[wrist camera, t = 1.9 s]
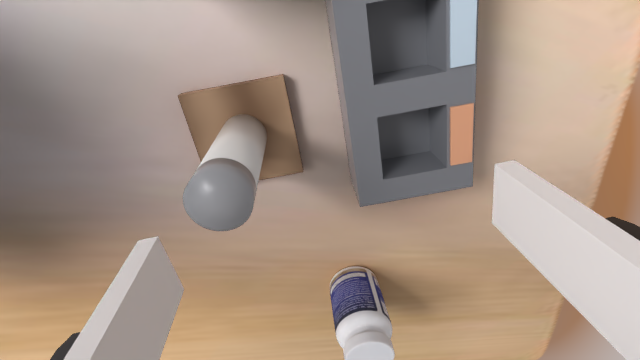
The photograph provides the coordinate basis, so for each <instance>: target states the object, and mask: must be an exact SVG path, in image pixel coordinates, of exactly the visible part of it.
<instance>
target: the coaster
mask: <svg viewBox="0 0 640 360" xmlns="http://www.w3.org/2000/svg"><path fill="white" fill-rule="evenodd" d="M178 98H179V101H180V104H181V107H182V109H183V112H184V115H185V118H186V121H187V124H188V126H189V129H190V132H191V135H192V138H193V141H194V143H195V146H196V149H197V152H198V155H199V158H200V160H201V161H202V160H203V158H204V157H205V155H206V153H207V152H208V150H209V148H210V147H211V145H212V144H213V142H214V140H215V139H216V137H217V135H218V134H219V132H220V131H221V129H222V127H223V126H224V124H225V123H226V121H227V120H228V119H230V118H231V117H233V116H236V115H241V114H244V115H250V116H252V117H254V118H256V119H258V120H259V121H260V122H261V123H262V124H263V126H264V128H265V130H266V133H267V141H266V146H265V151H264V156H263V161H262V166H261V170H260V175H259V180H263V179H268V178H274V177H279V176H284V175H290V174H295V173H301V172H303V166H302V161H301V156H300V151H299V147H298V142H297V137H296V132H295V128H294V123H293V118H292V113H291V109H290V104H289V99H288V94H287V90H286V85H285V80H284V75H283V74H282V75H277V76H271V77H266V78H261V79H255V80H250V81H245V82H239V83H234V84H229V85H223V86H218V87H213V88H207V89H202V90H197V91H191V92H186V93H181V94H180V95H178Z"/></svg>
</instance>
